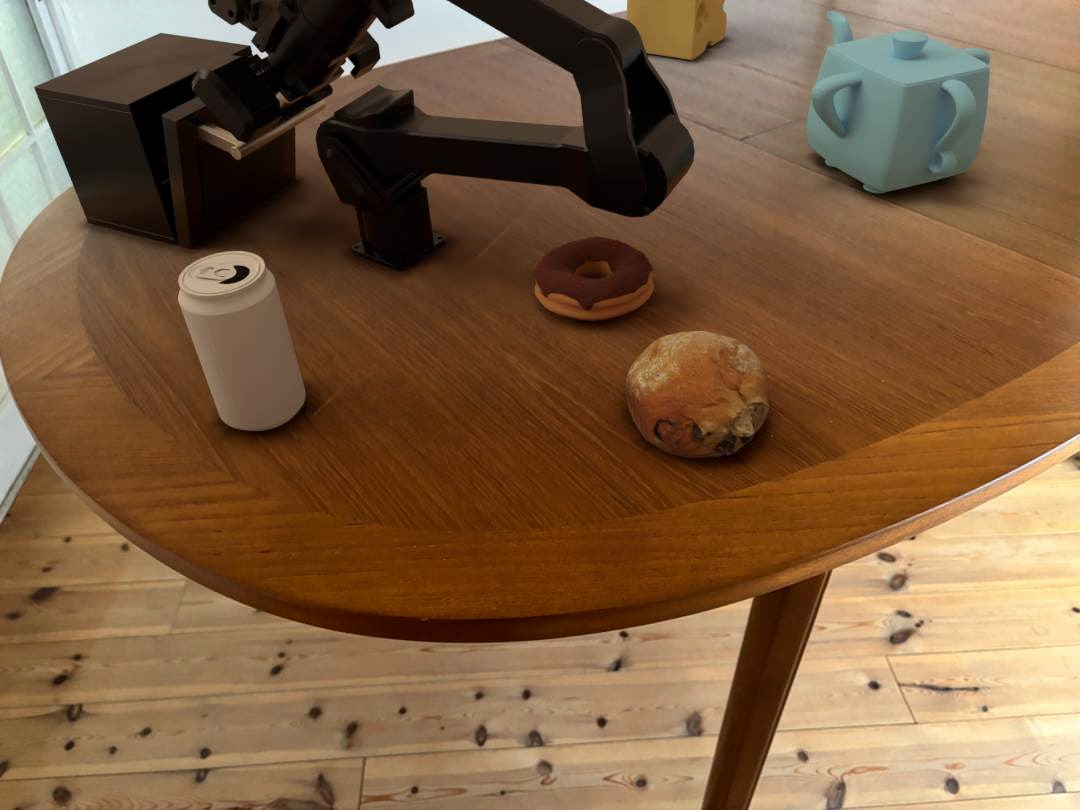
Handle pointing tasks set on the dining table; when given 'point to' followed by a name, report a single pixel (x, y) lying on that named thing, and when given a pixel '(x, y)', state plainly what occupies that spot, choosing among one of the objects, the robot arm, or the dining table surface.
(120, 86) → the oven
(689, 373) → the bread roll
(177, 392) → the dining table surface
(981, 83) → the teapot
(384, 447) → the dining table surface
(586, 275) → the donut
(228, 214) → the oven door
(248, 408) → the beverage can
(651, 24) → the cheese
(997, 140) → the dining table surface
